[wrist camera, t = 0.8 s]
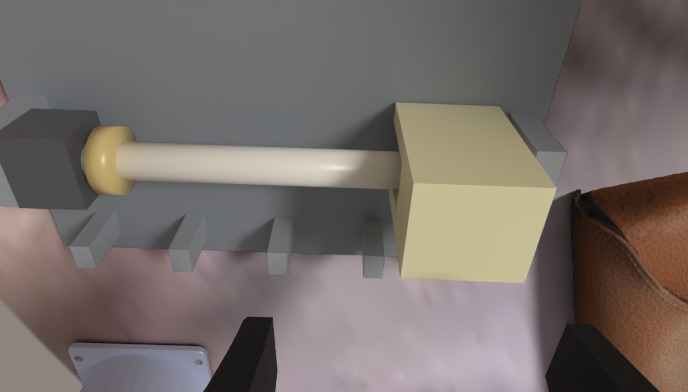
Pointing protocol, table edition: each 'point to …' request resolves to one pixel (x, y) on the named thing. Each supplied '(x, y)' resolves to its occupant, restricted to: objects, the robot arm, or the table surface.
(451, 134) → the cream block on rod
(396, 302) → the table surface
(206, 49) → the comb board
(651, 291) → the sunglasses case
